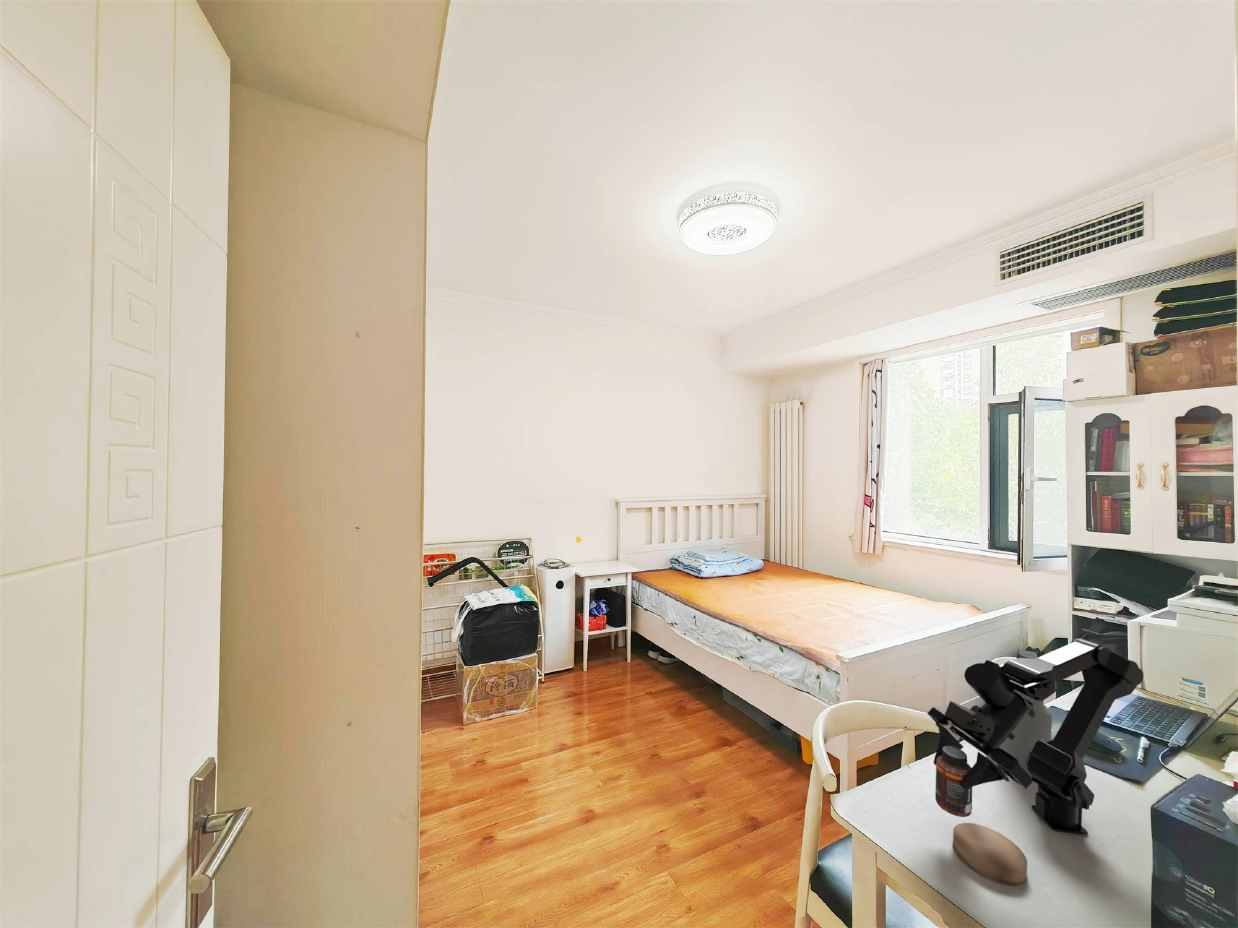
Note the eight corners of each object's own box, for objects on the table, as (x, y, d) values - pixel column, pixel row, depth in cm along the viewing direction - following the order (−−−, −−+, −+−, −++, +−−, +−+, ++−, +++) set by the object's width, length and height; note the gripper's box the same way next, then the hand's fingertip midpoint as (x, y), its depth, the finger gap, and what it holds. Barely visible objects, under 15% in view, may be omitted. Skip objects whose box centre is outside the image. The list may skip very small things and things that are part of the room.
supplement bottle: (979, 820, 89) (981, 763, 89) (946, 817, 90) (947, 760, 90) (959, 797, 95) (961, 743, 95) (928, 794, 96) (930, 741, 95)
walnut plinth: (1001, 838, 93) (1001, 826, 93) (1042, 889, 82) (1043, 875, 82) (941, 831, 95) (941, 819, 95) (974, 879, 84) (974, 866, 84)
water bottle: (996, 745, 124) (1001, 641, 123) (1045, 759, 118) (1050, 651, 118) (999, 765, 116) (1004, 654, 115) (1052, 782, 110) (1058, 665, 109)
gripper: (935, 668, 102) (889, 722, 100) (1020, 717, 83) (964, 783, 82) (966, 701, 103) (921, 754, 102) (1056, 756, 84) (1002, 822, 83)
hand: (948, 775), depth 92 cm, fingers closed on supplement bottle, 6 cm apart
